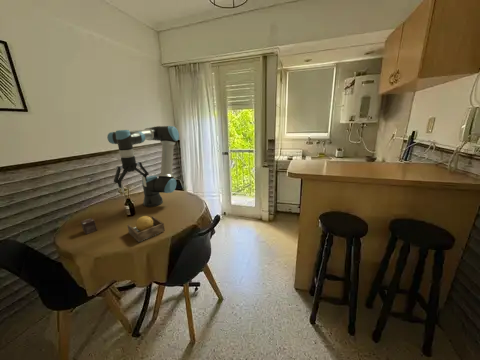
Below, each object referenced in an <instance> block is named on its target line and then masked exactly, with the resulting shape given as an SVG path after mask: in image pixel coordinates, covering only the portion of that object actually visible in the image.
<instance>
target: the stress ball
mask: <svg viewBox="0 0 480 360" xmlns="http://www.w3.org/2000/svg"><path fill="white" fill-rule="evenodd" d="M135 227H136V228H137V229H138V230H139V231H140V232H141V231H144V230H146V229H149V228H151V227H153V220H152V217H150V216H149V215H143V216H140V217H139V218H137V220H136V222H135Z"/></svg>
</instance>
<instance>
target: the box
mask: <svg viewBox="0 0 480 360" xmlns="http://www.w3.org/2000/svg"><path fill="white" fill-rule="evenodd" d="M80 224H81V228H82V230H83V232H84V234H85V235H88V234H91V233H93V232H96V231H98V229H97V225H96V220H95V219H94V218H92V217H90V218H87V219H84V220H80Z"/></svg>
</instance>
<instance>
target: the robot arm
mask: <svg viewBox="0 0 480 360" xmlns="http://www.w3.org/2000/svg"><path fill="white" fill-rule="evenodd" d="M106 136H107V142H109V143H110V144H112V145H117V147H118V152H119V155H120V159H121V165H120V166H119V165H117V166H116V171H115V175H114V178H113V183H115V184H117V186H118V188H119V189H120V190H121V193H123V194H125V187H124V183H123V182H122V181H123V179H124V178H125V176H126V174H127V173H130V172H134V171H136V172H137V173H139V174H140V175H141V178H142V180H141V181H142V183H141V185H142V190H143V194H144V195H143V196H144V197H143V200H142V201H143V206H144V207H148V208H151V207H157V206H160V205H161V204H163V203H164V202H163V201H164V200H163V197H162V195H161V193H164V194H171V193H173V192H174V191H175V190H176V188H177V180H176V179H175V176H174V175H173V164H174V163H173V162H174V146H175V145H176V142H177V141H179V138H180V134H179V131H178V129H177V127H176V126H173V125H172V126H171V125H162V126H161V125H158V126H152V127H147V128H144V129H139V130H138V129H137V130H129V129H117V130H116V131H111V132H109V133H108V134H107V135H106ZM145 141H158V142H160V143H161V145H162V146H161V148H162V149H161V161H160V164H161V165H160V174H159V175H158V176H157V175H150V176H149V172H148V171H147V170H146V168H145V167H144V166H143V163H142V162H140V161H136V157H135V151H134V147H133V146H135V145H139V144H142V143H144V142H145ZM137 166H138V167H139V168H140V169H141V170H142V171H141V170H140V169H138V167H137ZM121 170H122V171H121ZM121 172H122V173H121Z"/></svg>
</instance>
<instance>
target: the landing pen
mask: <svg viewBox="0 0 480 360" xmlns="http://www.w3.org/2000/svg"><path fill="white" fill-rule="evenodd" d="M151 218H152V220H153V227H151V228H149V229H146V230H144V231H141V232H140V231H139V230H138V229H137V228H136V226H135V227H133V226H131V225H130V224H127V231H128V234H129V235H130V236H131V237H132V238H134V240H135V241H136V242H138V243H142V242H143V240H144V241H145V239H146V240H148V239H151V238H153V237H155V236H157V235H156V234H158V235H160V234H162V233H164V232H163V231H165V232H166V229H165V223H164V222H162V221H161V220H159V219H158V218H157V217H155V216H154V215H152V216H151ZM161 232H162V233H161ZM159 233H160V234H159ZM154 235H155V236H154ZM152 236H153V237H152ZM150 237H151V238H150Z"/></svg>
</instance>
